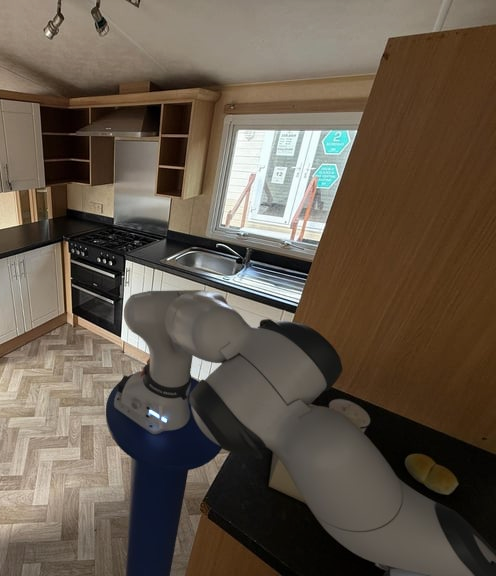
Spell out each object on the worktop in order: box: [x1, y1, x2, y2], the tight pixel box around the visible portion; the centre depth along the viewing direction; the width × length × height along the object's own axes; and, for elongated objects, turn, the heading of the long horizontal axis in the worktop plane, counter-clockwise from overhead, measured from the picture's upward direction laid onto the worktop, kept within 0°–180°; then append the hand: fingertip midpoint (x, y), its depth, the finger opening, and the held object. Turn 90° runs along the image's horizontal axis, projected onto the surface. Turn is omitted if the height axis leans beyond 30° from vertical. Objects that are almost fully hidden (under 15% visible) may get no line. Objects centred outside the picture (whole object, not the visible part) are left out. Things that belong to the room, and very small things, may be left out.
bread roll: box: [404, 453, 459, 496], centre depth 74 cm, size 8×9×4 cm
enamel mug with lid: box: [327, 398, 371, 434], centre depth 83 cm, size 12×9×12 cm
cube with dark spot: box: [268, 403, 361, 504], centre depth 71 cm, size 14×14×17 cm
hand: (420, 518), depth 61 cm, fingers closed
